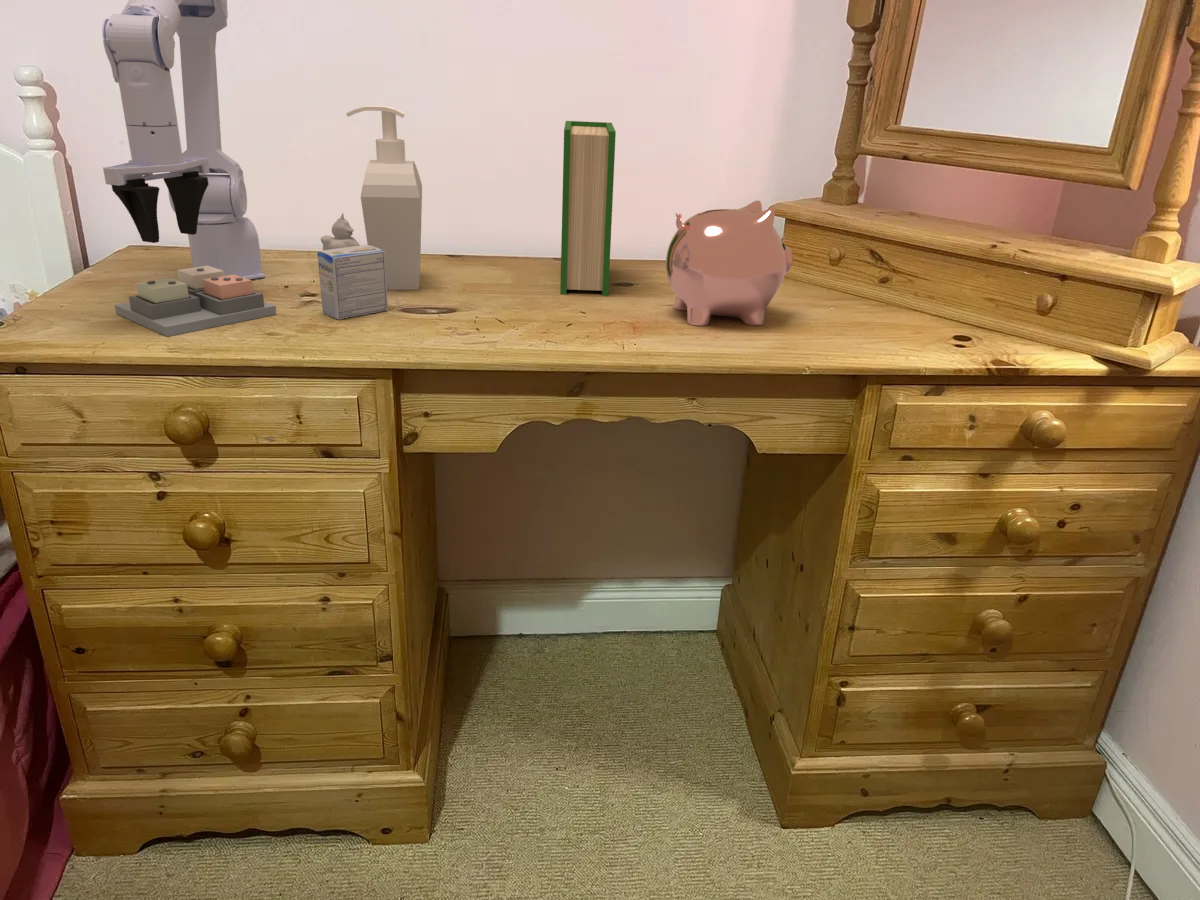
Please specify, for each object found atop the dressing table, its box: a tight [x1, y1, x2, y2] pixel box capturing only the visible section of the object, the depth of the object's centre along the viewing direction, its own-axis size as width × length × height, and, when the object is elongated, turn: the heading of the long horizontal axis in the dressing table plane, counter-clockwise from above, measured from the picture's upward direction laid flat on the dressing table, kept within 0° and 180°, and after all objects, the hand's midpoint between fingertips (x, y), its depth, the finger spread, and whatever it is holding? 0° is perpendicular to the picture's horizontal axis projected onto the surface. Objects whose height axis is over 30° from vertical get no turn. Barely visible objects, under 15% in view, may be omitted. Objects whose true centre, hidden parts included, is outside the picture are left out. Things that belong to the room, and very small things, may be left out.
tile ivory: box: [176, 266, 225, 289], centre depth 121 cm, size 4×4×2 cm
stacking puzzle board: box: [114, 286, 277, 337], centre depth 118 cm, size 15×14×3 cm
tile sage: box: [136, 277, 189, 303], centre depth 114 cm, size 4×4×2 cm
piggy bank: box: [665, 200, 793, 327], centre depth 125 cm, size 15×18×16 cm
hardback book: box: [559, 120, 617, 297], centre depth 139 cm, size 18×7×24 cm, turn 1°
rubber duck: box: [320, 212, 361, 251], centre depth 150 cm, size 5×7×8 cm
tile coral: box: [203, 275, 254, 299], centre depth 117 cm, size 4×4×2 cm
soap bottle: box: [346, 105, 423, 291], centre depth 132 cm, size 12×10×26 cm
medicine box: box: [316, 244, 389, 321], centre depth 120 cm, size 8×4×9 cm, turn 134°
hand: (170, 237), depth 113 cm, fingers open, 6 cm apart
